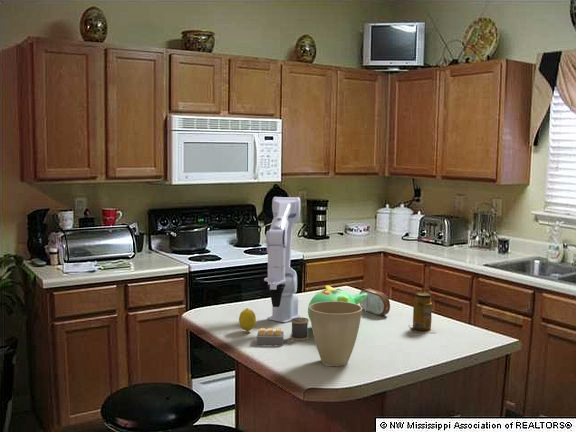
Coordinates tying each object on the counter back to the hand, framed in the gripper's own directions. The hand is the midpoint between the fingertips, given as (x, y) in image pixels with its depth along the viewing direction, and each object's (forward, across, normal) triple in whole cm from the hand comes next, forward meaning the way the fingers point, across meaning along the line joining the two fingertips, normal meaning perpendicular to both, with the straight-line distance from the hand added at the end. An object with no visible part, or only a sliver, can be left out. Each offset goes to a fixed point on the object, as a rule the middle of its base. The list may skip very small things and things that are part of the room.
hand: (276, 306), depth 203 cm
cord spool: (+8, +6, +8) cm, 13 cm away
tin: (+9, -28, +32) cm, 44 cm away
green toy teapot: (+9, -4, +19) cm, 21 cm away
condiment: (+9, -10, +48) cm, 50 cm away
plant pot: (+9, +27, +21) cm, 35 cm away
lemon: (+9, +2, -9) cm, 13 cm away
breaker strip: (+9, +12, 0) cm, 15 cm away
